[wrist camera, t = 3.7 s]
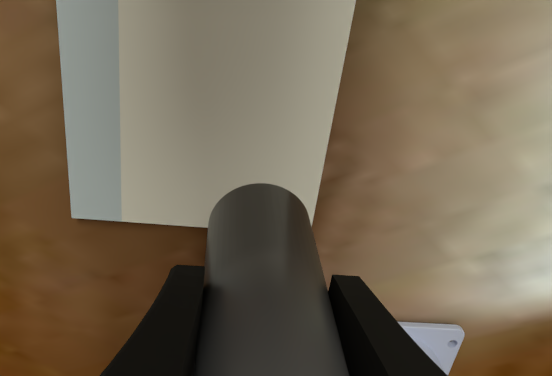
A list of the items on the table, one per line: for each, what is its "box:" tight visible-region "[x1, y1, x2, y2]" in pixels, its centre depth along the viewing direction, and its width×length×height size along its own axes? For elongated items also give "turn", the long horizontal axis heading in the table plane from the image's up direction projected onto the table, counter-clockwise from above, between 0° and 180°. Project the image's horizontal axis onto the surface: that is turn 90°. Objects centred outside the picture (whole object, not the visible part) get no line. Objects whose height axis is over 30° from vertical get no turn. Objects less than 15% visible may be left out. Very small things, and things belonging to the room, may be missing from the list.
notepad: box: [56, 0, 356, 228], centre depth 18 cm, size 12×10×1 cm
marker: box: [194, 183, 349, 376], centre depth 9 cm, size 3×3×10 cm
